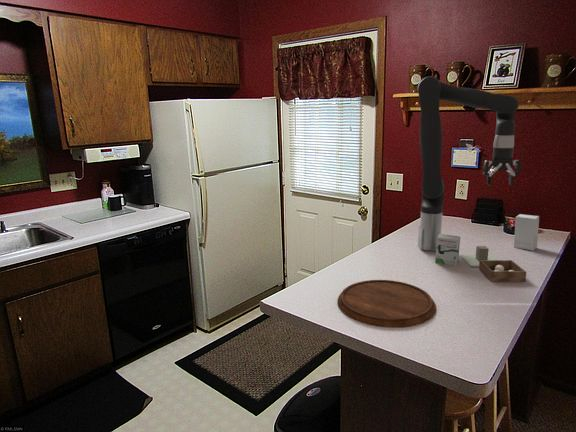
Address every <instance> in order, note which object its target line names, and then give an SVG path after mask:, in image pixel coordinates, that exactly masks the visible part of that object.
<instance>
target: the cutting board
mask: <svg viewBox="0 0 576 432" xmlns="http://www.w3.org/2000/svg"><path fill="white" fill-rule="evenodd" d="M337 297H338V298H337V307H338V308H339V310H340V312H342V313H343V314H344V315H345V316H347V317H348V318H350V319H352V320H354V321H355V322H356V321H357V322H359V323H362V324H365V325H367V326H374V327H380V328H392V329H397V328H401V329H402V328H409V327H414V326H418V325H422V324H424V323H427V322H428V321H430V320H431V319H432V318H434V316H435V315H436V312H437V305H436V302H435V300H434V299H433V298H432V297H431V296H430V294H429V293H428V292H427V291H425V290H424V289H422V288H420V287H418V286H415V285H414V284H411V283H406V282H403V281H399V280H389V279H369V280H362V281H358V282H355V283H352V284H350V285H348V286H347V287H345V288H344V289H343V290H342V291H341V292H340V294H339V295H338V296H337Z"/></svg>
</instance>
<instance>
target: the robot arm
mask: <svg viewBox="0 0 576 432" xmlns="http://www.w3.org/2000/svg"><path fill="white" fill-rule="evenodd" d="M417 94H418V99H419V106H420V121H419V147H420V157H421V163H422V164H421V165H422V176H421V177H422V178H421V179H422V180H421V193H422V195H421V196H422V197H421V205H420V222H419V223H420V225H419V227H418V237H417V239H418V240H417V246H418V248H419V249H420V250H421V251H425V252H429V251H430V252H436V246H437V237H438V235H439V234H442V226H443V223H442V222H443V208H444V198H445V182H444V180H443V179H442V170H441V166H442V165H441V163H442V156H443V155H442V154H443V127H442V119H441V114H440V101H441V100H442V101H447V102H448V101H449V102H452V103H455V104H460V105H463V106H467V107H470V108H471V107H472V108H476V109H481V110H489V111H492V112H493V111H494V112H496V114H495V115H496V125H495V134H494V135H495V136H494V139H493V145H492V147H493V149H492V159H491V160H484V161H483V166H482V172H481V173H482V175H483V176H486V184H487V186H492V180H493V175H494V174H495V173H496V172H501V171H503V172H507V173H508V174H509V176H508V185H509V186H513V184H515V176H518V175H520V174H521V160H519V159H515V160H513V157H514V148H515V129H516V121H515V113H516V111H517V110H518V109H519V107H520V106H519V105H520V103H519V101H518V99H517V98H516V97H515V96H514V95H513V96H512V95H507V94H499V93H495V92H491V91H486V90H482V89H476V88H470V87H461V86H455V85H451V84H447V83H445V82H442V81H440V80H439V79H438V78H437V77H434V76H430V75H429V76H425V77H424V78H422V79H421V80H420V81H419V83H418V85H417ZM490 165H491V168H490V169H489V167H490ZM511 166H514V168H512V167H511ZM513 169H514V170H513Z"/></svg>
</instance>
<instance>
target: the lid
mask: <svg viewBox="0 0 576 432" xmlns="http://www.w3.org/2000/svg"><path fill="white" fill-rule="evenodd" d="M460 258H462V259H463V260H464V262H466V264H467V265H468V266H469V267H470V268H479V262H480V260H497V259H496V257H494V256H493V255H492V254H489V247H487V245H476V248H475V254H461V255H460Z"/></svg>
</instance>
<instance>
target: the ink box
mask: <svg viewBox="0 0 576 432" xmlns="http://www.w3.org/2000/svg"><path fill="white" fill-rule="evenodd" d="M460 245H461V236H459V235H451V234H443V233H441V234H439V235H438V237H437V246H436V251H435V259H434V260H435V261H434V262H435V264H440V265H447V266H448V265H449V266H450V265H451V266H455V267H457V266H458V263H459V255H460V247H461V246H460Z"/></svg>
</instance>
